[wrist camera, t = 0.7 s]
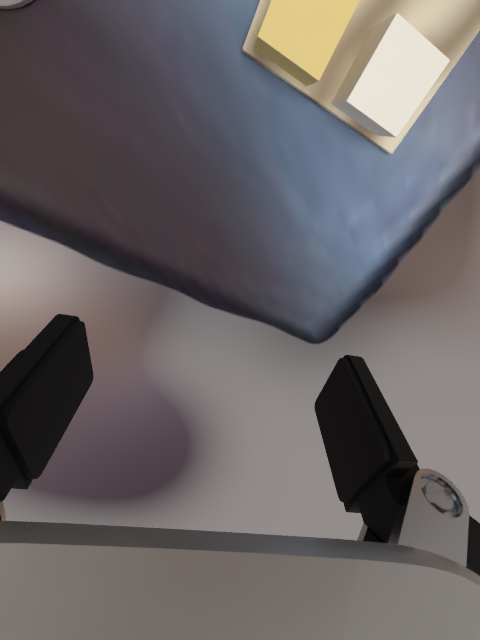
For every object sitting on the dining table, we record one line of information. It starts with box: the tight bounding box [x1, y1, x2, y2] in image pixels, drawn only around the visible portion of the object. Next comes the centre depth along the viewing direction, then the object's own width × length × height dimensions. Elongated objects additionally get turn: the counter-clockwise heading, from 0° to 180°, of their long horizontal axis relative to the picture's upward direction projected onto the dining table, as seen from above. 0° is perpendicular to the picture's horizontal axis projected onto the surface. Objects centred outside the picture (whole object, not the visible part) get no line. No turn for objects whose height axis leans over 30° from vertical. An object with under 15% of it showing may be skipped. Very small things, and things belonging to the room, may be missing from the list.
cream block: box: [331, 13, 450, 138], centre depth 26 cm, size 6×6×5 cm
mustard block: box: [254, 0, 360, 86], centre depth 23 cm, size 6×6×5 cm
